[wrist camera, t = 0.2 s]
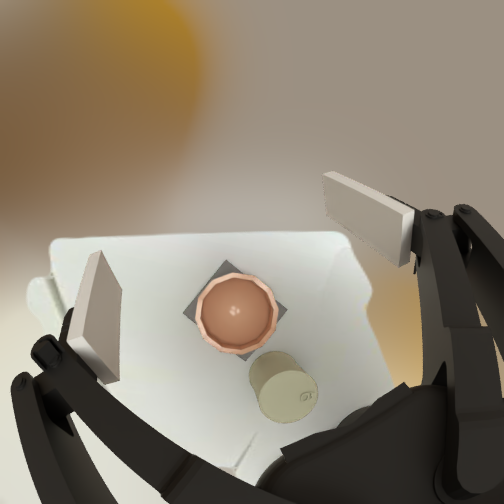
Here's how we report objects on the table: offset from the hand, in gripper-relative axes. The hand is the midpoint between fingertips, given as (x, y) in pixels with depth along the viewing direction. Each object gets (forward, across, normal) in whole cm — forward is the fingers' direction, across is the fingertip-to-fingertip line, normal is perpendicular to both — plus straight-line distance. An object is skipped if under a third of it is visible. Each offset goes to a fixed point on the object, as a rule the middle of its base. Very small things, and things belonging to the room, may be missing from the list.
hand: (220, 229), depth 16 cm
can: (+16, -3, +39) cm, 42 cm away
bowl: (+24, -1, +28) cm, 36 cm away
